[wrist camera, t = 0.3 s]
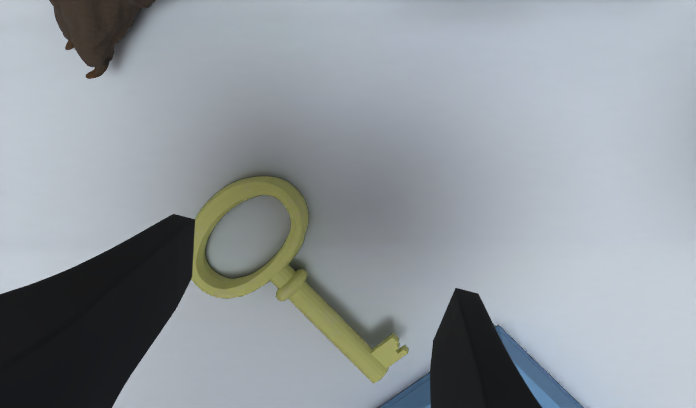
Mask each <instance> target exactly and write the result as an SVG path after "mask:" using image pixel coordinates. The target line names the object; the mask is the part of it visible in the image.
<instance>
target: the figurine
mask: <svg viewBox="0 0 696 408" xmlns="http://www.w3.org/2000/svg"><path fill="white" fill-rule="evenodd" d="M49 1H50V2H51V4H52V5H53V6H54V13H55V18H56V21H57V23H58V25H59V28H60V29H61V31H62V32H63V35H64V37H65V38H66V39H68V40H69V41H68V42H67V44H66V47H65V49H66V50H70V49H72V48H74V47H75V49H76V51H77V53H78V54H79V56H80V57H81V59H82V60H83V61H84V62H85V63H86V64H87V65H88V66H90V67H95V69H94V70H93V71H91V72H89V73H88V74H87V75H86V78H88V79H91V78H96V77H99V76H101V75H102V74H103V73H104V72H105V71H106V70H107V68H108V65H109V61H111V60H112V58H113V54H114V45H115V44H116V43H117V42H118V41H119V40H121V39H122V38H123V37H124V36H125V34H126V33H127V31H128V29H129V28H130V27H131V26H132V24H133V22H134V18H135V15H136V13H137V11H139V10H140V9H141V8H148V7H150V6H151V5H152V4H153V2H155V0H49Z"/></svg>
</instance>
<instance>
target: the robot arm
mask: <svg viewBox="0 0 696 408" xmlns="http://www.w3.org/2000/svg"><path fill="white" fill-rule="evenodd" d="M194 233H195V219H191V218H187V217H183V216H179V215H176V214H173V215H171V216H169V217H167V218H165V219H164V220H162V221H160V222H158V223H156V224H155V225H153V226H151V227H149V228H148V229H146V230H144V231H142V232H141V233H139V234H137V235H135V236H134V237H132V238H130V239H128V240H126V241H125V242H123V243H121V244H119V245H117V246H115V247H114V248H112V249H110V250H108V251H106V252H104V253H102V254H100V255H98V256H96V257H94V258H92V259H90V260H88V261H86V262H83V263H81V264H79V265H77V266H75V267H73V268H71V269H68V270H66V271H64V272H61V273H59V274H57V275H54V276H51V277H49V278H46V279H44V280H41V281H39V282H36V283H33V284H31V285H28V286H25V287H22V288H18V289H15V290H12V291H9V292H6V293H3V294H0V408H112V406H113V405H114V403H115V401H116V399H117V397H118V395H119V394H120V392H121V390H122V388H123V387H124V385H125V383H126V382H127V380H128V379H129V377H130V375H131V374H132V372H133V371H134V369H135V368H136V367H137V365H138V364H139V362H140V361H141V359H142V358H143V356H144V355H145V353H146V352H147V351H148V349H149V348H150V346H151V345H152V343H153V342H154V340H155V339H156V338H157V336H158V335H159V333H160V332H161V330H162V329H163V327H164V326H165V324H166V323H167V321H168V320H169V318H170V317H171V315H172V314H173V312H174V311H175V309H176V308H177V306H178V304H179V302H180V300H181V298H182V296H183V295H184V293H185V290H186V288H187V286H188V284H189V282H190V280H191V278H192V271H193V252H194ZM430 402H431V408H542V406H541V405H540V404H539V402H538V401H537V399H536V398H535V397H534V395H533V394H532V392H531V391H530V389H529V387H528V386H527V384H526V383H525V381H524V379H523V378H522V376H521V375H520V373H519V371H518V369H517V368H516V366H515V364H514V363H513V361H512V359H511V357H510V355H509V353H508V352H507V350H506V348H505V346H504V344H503V342H502V341H501V339H500V337H499V335H498V333H497V331H496V329H495V327H494V325H493V323H492V321H491V319H490V317H489V315H488V312H487V310H486V308H485V306H484V304H483V302H482V300H481V298H480V296H479V294H477V293H473V292H470V291H466V290H462V289H458V288H455V291H454V293H453V295H452V298H451V300H450V303H449V305H448V307H447V310H446V312H445V314H444V317H443V319H442V321H441V324H440V326H439V328H438V331H437V333H436V335H435V338H434V340H433V348H432V358H431V369H430Z"/></svg>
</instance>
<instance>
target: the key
mask: <svg viewBox="0 0 696 408" xmlns="http://www.w3.org/2000/svg"><path fill="white" fill-rule="evenodd" d="M260 195H270V196H272V197H275V198H277V199H278V200H280V201H281V202H282V203H283V205H284V206H285V207H286V209H287V211H288V213H289V215H290V219H291V229H290V233H289V236H288V237H287V239H286V241H285V243H284V245H283V246H282V247H281V249H280V250H279V251H278V252H277V254H276V255H275V256H274V257H273V258H272V259H271V260H270V261H269V262H268V263H267V264H266V265H264V266H263V267H262V268H261V269H259V270H258V271H256V272H255V273H253V274H251V275H248V276H245V277H241V278H236V279H230V278H226V277H222V276H221V275H219V274H217V273H216V272H215V271H213V270H212V269H211V268H210V266H209V265H208V263H207V261H206V257H205V247H206V243H207V240H208V237H209V235H210V233H211V232H212V230H213V229H214V227H215V225H216V224H217V223H218V222H219V220H220V219H221V218H222V217H223V216H224V215H225V214H226V213H227V212H228V211H229V210H231V209H232V208H234V207H235V206H237V205H238V204H240V203H241V202H243V201H245V200H248V199H250V198H253V197H256V196H260ZM308 222H309V217H308V209H307V204H306V202H305V200H304V198H303V196H302V195H301V194H300V192H299V191H298V190H297V189H296V188H295V187H294V186H293V185H292V184H290V183H289V182H288V181H285V180H283V179H280V178H276V177H271V176H259V177H251V178H246V179H242V180H239V181H236V182H233V183H232V184H230V185H228V186H226V187H224V188H223V189H222V190H220V191H219V192H218V193H217V194H215V195H214V196H213V197H212V198H211V199H210V200H209V201H208V202H207V203H206V204H205V206H204V207H203V208H202V209H201V210H200V212H199V213H198V215H197V216H196V218H195V233H194V252H193V271H192V278H191V280H192V281H193V282H194V283H195V284H196V285H197V286H198V287H199V288H200V289H201V290H202V291H204V292H205V293H207V294H209V295H211V296H215V297H218V298H225V299H228V298H234V297H240V296H244V295H246V294H249V293H251V292H253V291H255V290H257V289H258V288H260V287H261V286H263V285H264V284H266V283H267V282H269V281H271V282H272V283H273V284H274V285H275V286H276V287H277V288H278V290H277V292H276V298H277V299H278V300H279V301H284V300H286V299H289V300H290V301H291V302H292V303H293V304H294V305H295V306H296V307H297V308H298V309H299V310H300V311H301V312H302V313H303V314H304V315H305V316H306V317H307V318H308V319H309V320H310V321H311V322H312V323H313V324H314V325H315V326H316V327H317V328H318V329H319V330H320V331H321V332H322V333H323V334H324V335H325V336H326V337H327V338H328V339H329V340H330V341H331V342H332V343H333V344H334V345H335V346H336V347H337V348H338V349H339V350H340V351H341V352H342V353H343V354H344V355H345V356H346V357H347V358H348V359H349V360H350V361H351V362H352V363H353V364H354V365H355V366H356V367H357V368H358V369H359V370H360V371H361V372H362V373H363V374H364V375H365V376H366V377H367V378H368V379H369V380H370V381H371V382H372V383H376V382H377V381H379V380H380V379H381V378H382V377H383V376H384V375H385V374H386V372H387V370H388V368H389V366H391V365H392V364H394V363H395V362H396V361H398V360H399V359H401V358H402V357H403V356H405V355H406V354H408V350H409V348H408V347H407V346H406V345H404V346H402V347H401V348H400V349H398V348H399V345H400V343H399V338H398V337H397V336H396V335H395V334H394V333H393V334H391V335H390V336H389V337H387V338H386V339H385V340H383V341H382V342H381V343H379V344H378V345H377V346H375V347H374V348H373V349H372V348H371V347H370V346H369V345H368V344H367V343H366V342H365V341H364V340H363V339H362V338H361V337H360V336H359V335H358V334H357V333H356V332H355V331H354V330H353V329H352V328H351V327H350V326H349V325H348V324H347V323H346V322H345V321H344V320H343V319H342V318H341V317H340V316H339V315H338V314H337V313H336V312H335V311H334V310H333V309H332V308H331V307H330V306H329V305H328V304H327V303H326V302H325V301H324V300H323V299H322V298H321V297H320V296H319V295H318V294H317V293H316V292H315V291H314V290H313V289H312V288H311V287H310V286H309V285H308V284H307V283H306V282H305V280H306V278H307V274H308V273H307V272H306V271H305V270H304V269H299V270H297V271H296V272H295V271H294V270H293V269H292V268H291V267H290V266H289V265H288V264H289V263H290V262H291V260H292V259H293V258H294V257H295V256H296V254H297V253H298V251H299V249H300V247H301V245H302V244H303V241H304V238H305V234H306V230H307V226H308Z"/></svg>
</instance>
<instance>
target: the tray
mask: <svg viewBox="0 0 696 408" xmlns="http://www.w3.org/2000/svg"><path fill="white" fill-rule="evenodd" d="M495 329H496V331H497V333H498V335H499V337H500V339H501V341H502V342H503V344H504V346H505V348H506V350H507V352H508V353H509V355H510V357H511V359H512V361H513V363H514V364H515V366H516V368H517V369H518V371H519V373H520V375H521V376H522V378H523V379H524V381H525V383H526V384H527V386H528V387H529V389H530V391H531V392H532V394H533V395H534V397H535V398H536V399H537V401H538V402H539V404H540V405H541V406H542V408H583V407H582V406H581V405H580V404H579V403H578V402H577V401H576V400H575V399H574V398H573V397H572V396H571V395H570V394H569V393H567V392H566V391H565V390H564V389H563V388H562V387H561V386H560V385H559V384H558V383H557V382H556V381H555V380H554V379H553V378H552V377H551V376H550V375H549V374H548V373H547V372H546V371H545V370H544V369H543V368H542V367H541V366H540V365H539V364H538V363H537V362H536V361H534V360H533V359H532V358H531V357H530V356H529V355H528V354H527V353H526V352H525V351H524V350H523V349H522V348H521V347H520V346H519V345H518V344H517V343H516V342H515V341H514V340H513V339H512V338H511V337H510V336H509V335H508V334H507V333H506V332H505V331H504V330H503V329H502V328H500V327H499V326H497V327H496V328H495ZM379 408H431V402H430V373H429V374H427V375H426V376H424V377H423V378H422V379H420V380H419V381H417V382H416V383H414V384H413V385H411V386H410V387H408V388H407V389H406V390H404V391H403V392H401V393H400V394H398V395H397V396H395V397H394V398H392V399H391V400H390V401H388V402H387V403H385V404H384V405H382V406H381V407H379Z"/></svg>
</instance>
